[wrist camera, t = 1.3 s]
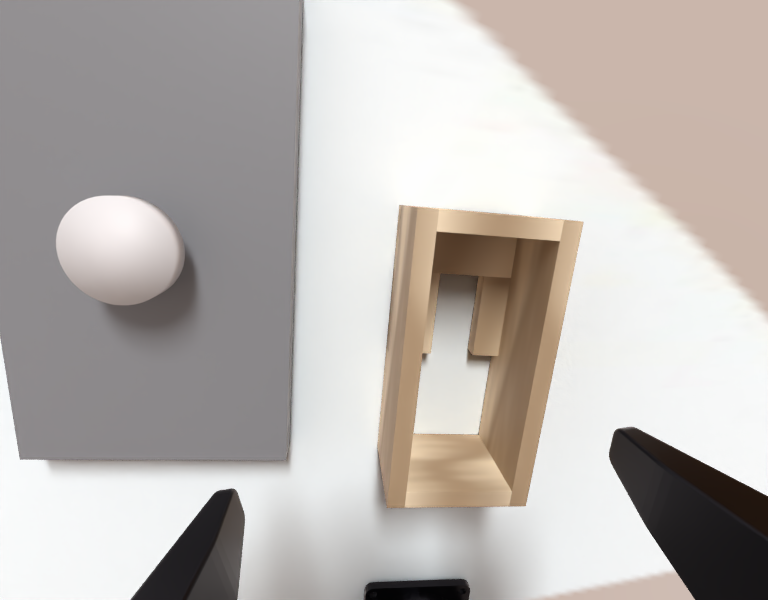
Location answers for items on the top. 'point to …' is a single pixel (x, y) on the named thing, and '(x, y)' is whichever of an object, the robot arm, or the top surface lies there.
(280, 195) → the grey plate with ball
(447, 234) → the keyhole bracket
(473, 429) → the top surface
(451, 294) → the top surface
